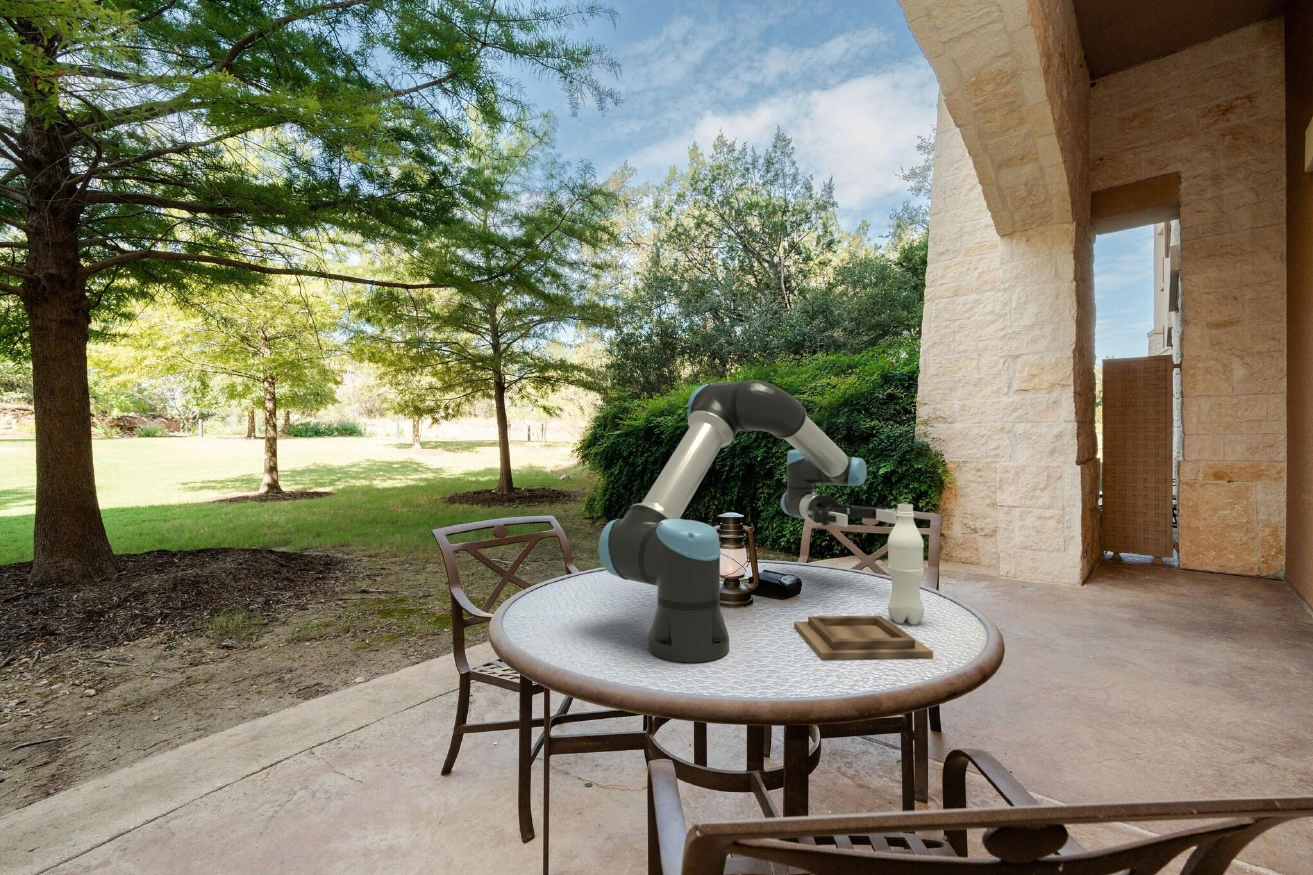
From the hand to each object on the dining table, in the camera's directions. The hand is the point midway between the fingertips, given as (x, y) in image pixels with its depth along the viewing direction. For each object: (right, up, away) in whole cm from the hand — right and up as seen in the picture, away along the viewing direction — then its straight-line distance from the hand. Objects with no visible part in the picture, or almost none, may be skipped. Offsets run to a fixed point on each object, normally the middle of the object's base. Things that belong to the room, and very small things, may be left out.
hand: (871, 519), depth 137 cm
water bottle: (+3, -20, -11) cm, 24 cm away
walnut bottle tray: (-11, -20, -24) cm, 33 cm away
